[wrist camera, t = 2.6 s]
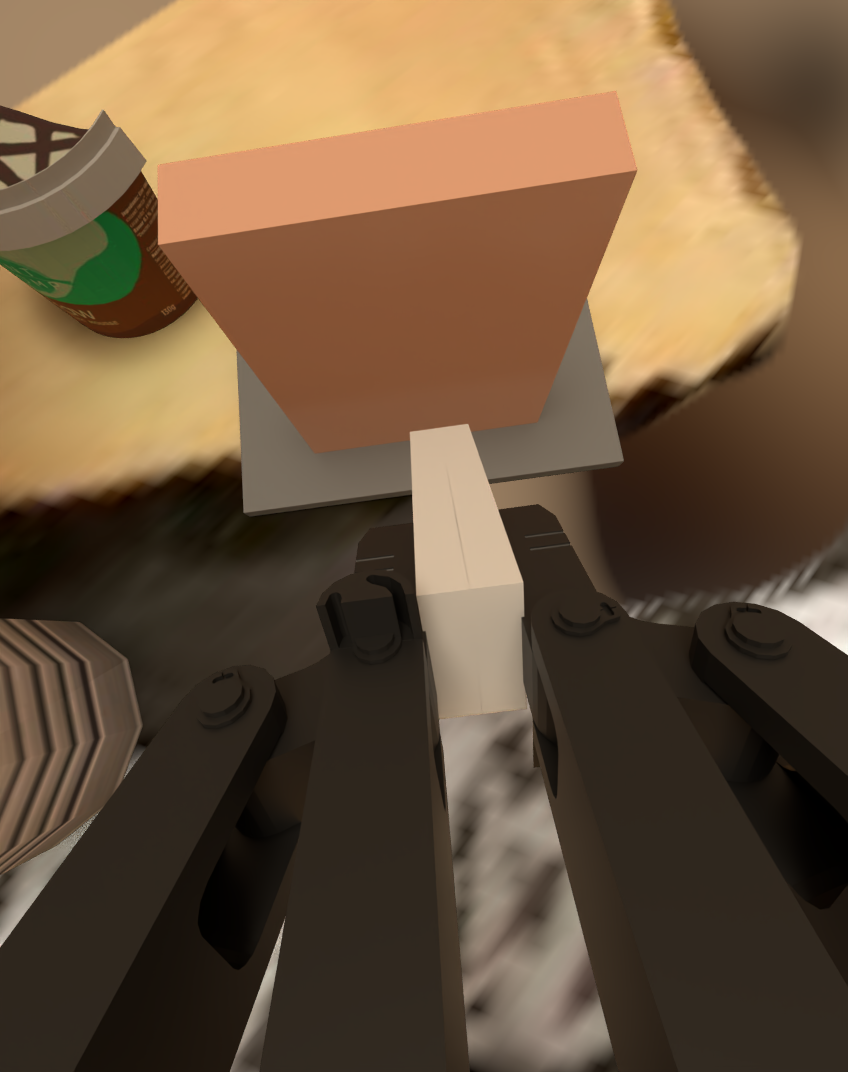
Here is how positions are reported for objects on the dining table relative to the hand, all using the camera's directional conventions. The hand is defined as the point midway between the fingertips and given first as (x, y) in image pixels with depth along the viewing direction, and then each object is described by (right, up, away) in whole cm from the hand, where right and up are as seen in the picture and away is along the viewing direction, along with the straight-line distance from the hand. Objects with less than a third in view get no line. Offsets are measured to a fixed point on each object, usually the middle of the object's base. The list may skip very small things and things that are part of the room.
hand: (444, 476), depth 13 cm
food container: (-19, +12, +17) cm, 28 cm away
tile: (-1, +5, +13) cm, 14 cm away
